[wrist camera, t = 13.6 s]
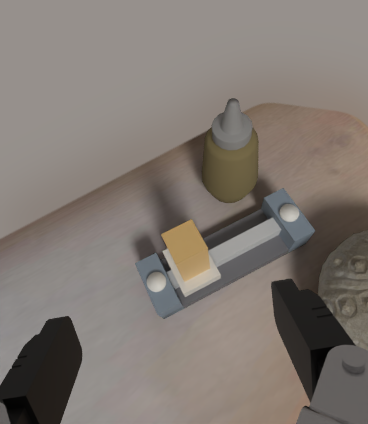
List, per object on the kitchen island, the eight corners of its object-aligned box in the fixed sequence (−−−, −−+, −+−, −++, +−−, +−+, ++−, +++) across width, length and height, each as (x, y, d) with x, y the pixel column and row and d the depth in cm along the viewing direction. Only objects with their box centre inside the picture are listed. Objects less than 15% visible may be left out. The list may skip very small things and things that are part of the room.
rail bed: (164, 318, 42) (156, 314, 37) (143, 272, 45) (134, 262, 40) (305, 243, 44) (316, 229, 39) (277, 204, 47) (283, 186, 42)
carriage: (186, 299, 41) (174, 279, 30) (166, 259, 43) (149, 227, 33) (220, 281, 41) (220, 255, 31) (199, 243, 44) (192, 206, 33)
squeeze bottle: (253, 213, 47) (270, 136, 31) (199, 207, 48) (188, 131, 32) (257, 166, 50) (275, 75, 34) (206, 162, 51) (200, 72, 35)
